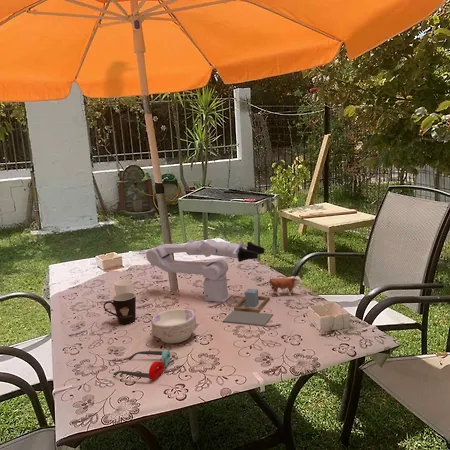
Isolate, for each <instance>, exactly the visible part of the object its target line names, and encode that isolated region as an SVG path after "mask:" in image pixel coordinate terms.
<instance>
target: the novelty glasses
mask: <svg viewBox="0 0 450 450" xmlns="http://www.w3.org/2000/svg"><path fill="white" fill-rule="evenodd" d="M137 355H149V356H150V355H151V356H161V360H162V361H157V360H155V361H153V362H152V364H151V365H150V367H149V370H148V373H147V372H137V371H128V370H126V371H125V370H119V371H115V372H114V373H113V374H112V375H115V377H116V376H118V374H122V375H127V376H131V377H137V378H145V379H148V380H152V381H153V380H154V381H155V379H157V378H158V377H159V376H162V375H163V372H164V371H165V368H167V366H168V365H169V362H170V363H171V350H170V349H163V350H144V351H143V350H142V351H137V352H136V353H133V354H132V355H130V356H129V357H128V359H129V360H128V361H131V360H132V359H133V358H134V357H135V356H137ZM159 374H160V375H159ZM161 374H162V375H161Z"/></svg>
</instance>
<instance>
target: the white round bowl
mask: <svg viewBox="0 0 450 450" xmlns="http://www.w3.org/2000/svg"><path fill="white" fill-rule="evenodd" d="M150 323H151V329H152V334H153V336H155V337H156V338H159V339H160V340H161V341H162V342H163V343H166V344H179V343H182V342H184V341H186V340H188V339H190V337H191V336H192V333H193V332H195V331H196V330H197V326H198V325H197V318H196V313H195V311H194V310H191V309H188V308H172V309H167V310H163V311H161V312H157V313H155V315H153V317H152V318H151V320H150Z"/></svg>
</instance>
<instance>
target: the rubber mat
mask: <svg viewBox="0 0 450 450" xmlns="http://www.w3.org/2000/svg"><path fill="white" fill-rule="evenodd" d="M273 316H274V313H264V312H259V313H256V312H245V311H234V310H232V311H231V312H230V313H229V314H228V315H227V316H226V317H225V318H224V319H223V320H222V322H223V323H229V324H230V323H231V324H237V325H249V326H259V327H266V325H267V324H268V323H269V321H270V320H271V319H272V318H273Z"/></svg>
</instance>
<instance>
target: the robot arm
mask: <svg viewBox="0 0 450 450" xmlns="http://www.w3.org/2000/svg"><path fill="white" fill-rule="evenodd" d="M177 253H178V254H179V253H186V255H187V256H205V258H208V257H210V256H215V257H216V256H217V257H224V258H225V257H226V258H232V259H237V261H238V263H241V262H244V261H246V260H255V259H258V258H259V255H261V254H262V255H263V254H265V253H266V252H265V247H262V246H259V245H257V244H255V243H253V242H252V241H248V242H247V244H244V243H242V241H241V240H239V241H238V242H237V243H234V242H223V241H216V240H214V239H210V238H209V239H207V240H206V241H205V239H201V240H196V241H194V239H190V240H189V241H187V242H186V243H184V244H183V243H181V244H180V243H164V244H163V243H162V244H158V245H157V246H155V247H153V248H150V249H148V250H147V251H146V254H145V255H146V259H147V261H148V262H149V264H150V265H151V266H153V267H154V266H155V267H157V268H159V269H160V270H162V271H164V272H166V273H173V274H174V273H176V274H186V275H187V274H189V275H200V276H202V277H203V278H204V280H203V283H202V284H203V287H202V288H203V293H204V294H203V295H204V298H203V301H204V302H216V303H225V302H226V301H227V300H228V299H230V298H231V297H232V294H229V292H228V280H227V279H228V278H227V272H228V271H229V264H228V263H227V261H226V260H224V259H217V260H215V261H214V260H211V261H207V262H204V261H190V260H188V261H187V260H176V259H175V260H174V257H173V255H172V254H177Z"/></svg>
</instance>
